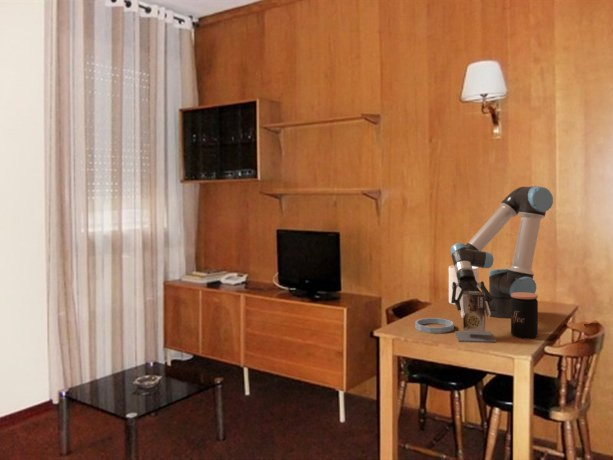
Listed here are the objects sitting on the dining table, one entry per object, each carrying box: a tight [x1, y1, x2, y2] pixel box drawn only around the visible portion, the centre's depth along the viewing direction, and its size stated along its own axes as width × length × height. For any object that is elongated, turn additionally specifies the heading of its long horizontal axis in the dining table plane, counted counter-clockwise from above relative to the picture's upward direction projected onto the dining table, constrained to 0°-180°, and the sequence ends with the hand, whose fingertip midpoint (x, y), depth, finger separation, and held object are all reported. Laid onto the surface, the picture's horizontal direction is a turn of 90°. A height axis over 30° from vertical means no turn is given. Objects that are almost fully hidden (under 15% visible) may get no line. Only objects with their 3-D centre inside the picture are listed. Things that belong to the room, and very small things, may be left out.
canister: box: [448, 264, 479, 305], centre depth 287 cm, size 16×16×20 cm
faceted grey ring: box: [414, 317, 455, 334], centre depth 237 cm, size 17×17×2 cm
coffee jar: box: [510, 292, 539, 340], centre depth 220 cm, size 11×11×18 cm
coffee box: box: [462, 291, 486, 332], centre depth 220 cm, size 9×6×16 cm
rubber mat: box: [454, 330, 497, 343], centre depth 220 cm, size 15×14×1 cm
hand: (476, 316), depth 217 cm, fingers closed on coffee box, 10 cm apart
